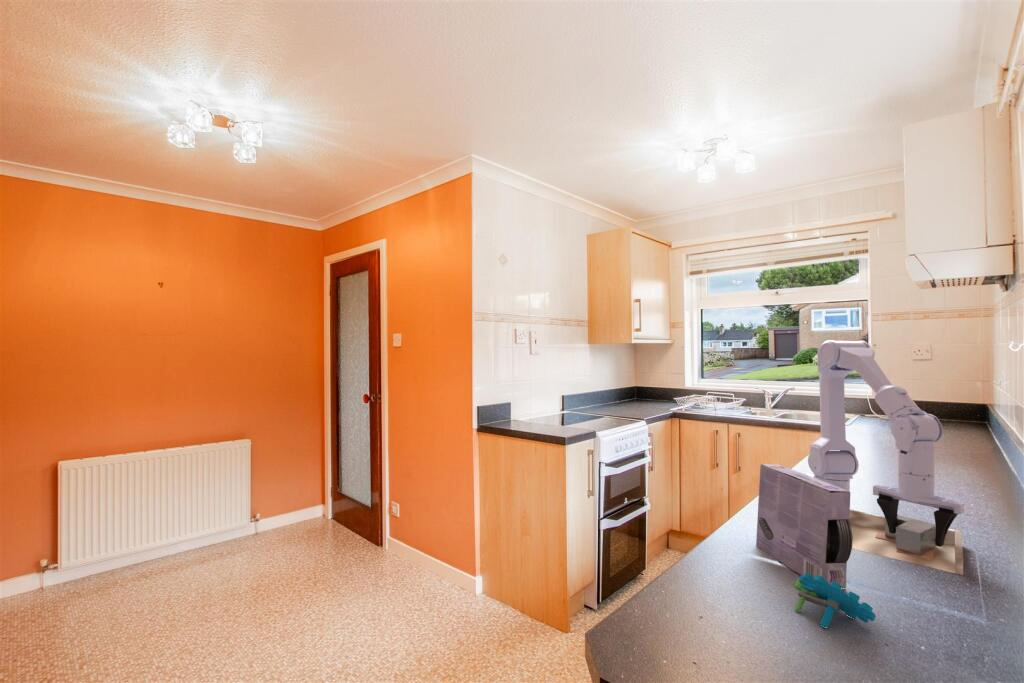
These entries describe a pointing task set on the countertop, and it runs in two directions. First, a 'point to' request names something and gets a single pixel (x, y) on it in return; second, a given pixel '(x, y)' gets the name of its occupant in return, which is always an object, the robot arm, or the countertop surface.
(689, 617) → the countertop surface
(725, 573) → the countertop surface
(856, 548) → the board
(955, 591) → the countertop surface
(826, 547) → the cake pan box
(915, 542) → the bracket
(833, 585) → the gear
